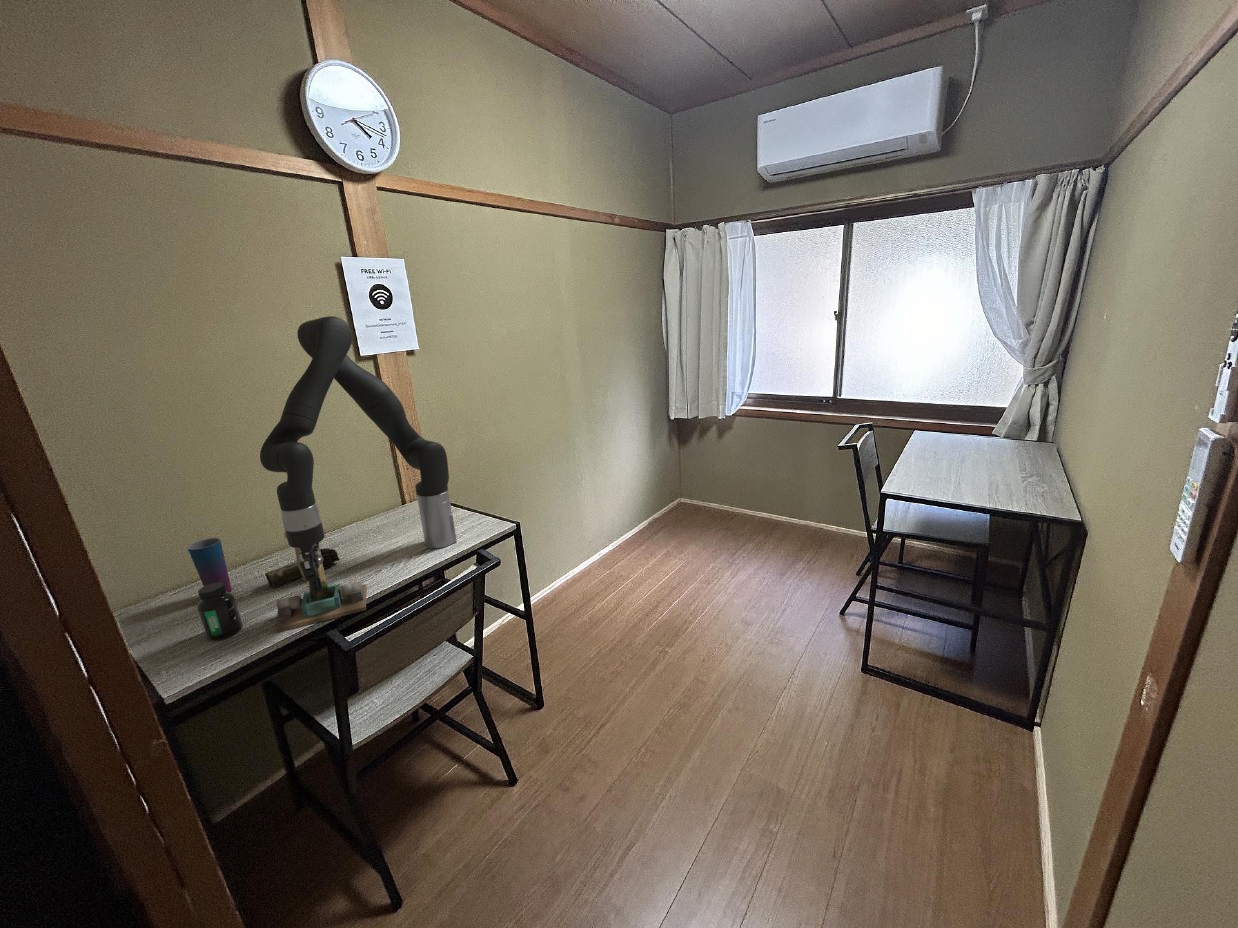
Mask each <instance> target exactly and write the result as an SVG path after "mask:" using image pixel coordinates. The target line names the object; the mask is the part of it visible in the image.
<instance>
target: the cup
mask: <svg viewBox="0 0 1238 928" xmlns="http://www.w3.org/2000/svg"><path fill="white" fill-rule="evenodd" d="M187 551H188V553H189V555H190V558H191V559H192V562H193V565H194V567H195V569H196V571H197V574H198V575H199V579H200V581H201V583H202V587H204V586H206V585H209V584H212V583H218V582H221V583H224V585H225V588H226V590H227V591H226V592H229V593H232V585H231V582H230V576H229V571H228V568H227V562H226V559H225V558H226V557H225V554H224V550H223V545H222V541H221V538H220V537H209V538H204V539H200V540H196V541H194V542H192V543H190V544H189V545H188V546H187Z"/></svg>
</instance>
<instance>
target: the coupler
mask: <svg viewBox="0 0 1238 928" xmlns="http://www.w3.org/2000/svg"><path fill="white" fill-rule="evenodd" d="M300 562H302V561H300ZM319 562H320V567H319V574H320V580H321V584H322V588H323V589H322V591H321V592H317V593H312V590H311V586H310V582H309V581H306V584H307V588H308V591H309V592H310V596H311V599H315V600H316V599H321V598H324V597H326V596H327V595H329V589H328V586H329V584H328V581H327V576H326V573H325V568H323V564H322V562H323V557H322V555H319ZM314 564H315V565H316V564H317V563H316V562H315V563H314ZM311 574H314V573H310V575H311Z"/></svg>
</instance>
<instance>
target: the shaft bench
mask: <svg viewBox="0 0 1238 928" xmlns="http://www.w3.org/2000/svg"><path fill="white" fill-rule="evenodd" d="M367 588H368V587H367V584H366V583H364V584H363V582H362V580H360V581H356V582H352V583H347V584H343V585H341V583H338V584H336V583H335V584H333V583H332V584H330V585H329V584H328V589H329V595H327V596H326V597H324V598H321V599H316V600H315V599H311V596H310V592H309V590H307V591H304V593H303V597H302V595H300V594H298V595H294V596H290V597H285V598H281V599H277V601H276V608H277V615H278V619H277V622H276V625H275V627H274V630H275V633H280V632H284V631H288V630H292V629H297V628H300V627H303V626H305V627H306V626H308V625H312V624H316V623H320V622H324V621H328V620H332V619H336V618H341V617H344V616H348V615H353V614H357V613H360V612H363V611H366V610H367V595H368V594H367V592H368V591H367V590H368V589H367Z"/></svg>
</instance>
